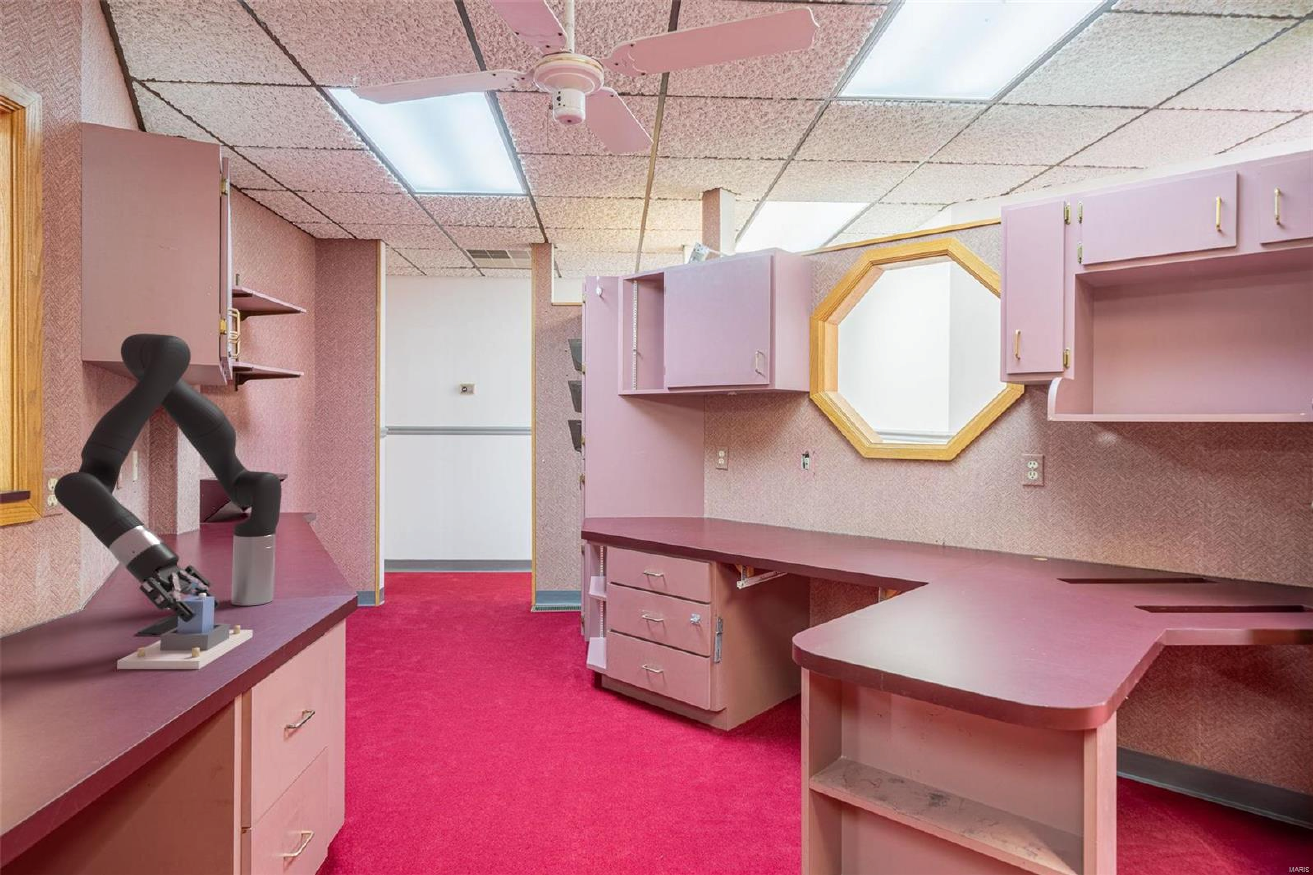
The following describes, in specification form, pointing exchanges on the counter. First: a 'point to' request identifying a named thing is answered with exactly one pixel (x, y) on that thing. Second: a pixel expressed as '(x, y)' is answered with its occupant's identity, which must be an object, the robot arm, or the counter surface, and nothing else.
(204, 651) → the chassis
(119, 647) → the counter surface
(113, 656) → the counter surface
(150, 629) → the phone
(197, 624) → the block
